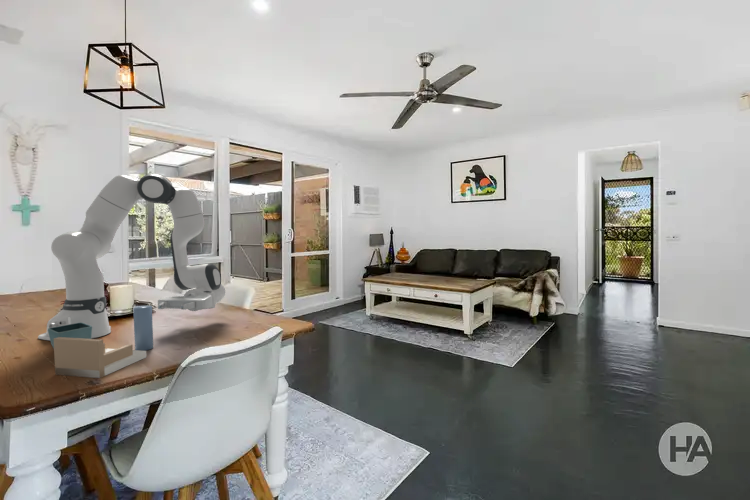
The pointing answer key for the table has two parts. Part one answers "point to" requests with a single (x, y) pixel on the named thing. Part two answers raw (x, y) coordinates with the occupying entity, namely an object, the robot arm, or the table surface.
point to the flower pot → (70, 331)
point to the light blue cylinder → (143, 328)
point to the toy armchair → (91, 357)
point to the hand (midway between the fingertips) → (171, 307)
